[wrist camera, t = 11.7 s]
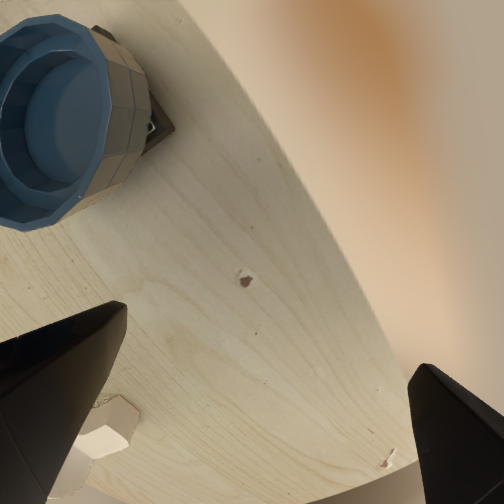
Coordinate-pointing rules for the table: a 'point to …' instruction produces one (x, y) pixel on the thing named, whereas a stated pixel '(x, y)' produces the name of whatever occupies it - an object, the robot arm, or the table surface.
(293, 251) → the table surface
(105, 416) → the slotted base with upright
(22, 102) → the bowl
